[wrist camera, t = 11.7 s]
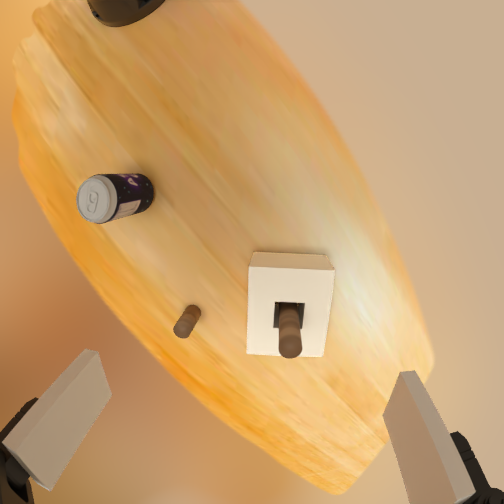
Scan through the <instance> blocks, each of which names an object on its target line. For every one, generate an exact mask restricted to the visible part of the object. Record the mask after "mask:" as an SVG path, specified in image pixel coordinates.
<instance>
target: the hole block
mask: <svg viewBox="0 0 504 504" xmlns="http://www.w3.org/2000/svg"><path fill="white" fill-rule="evenodd" d="M334 277H335V269H334V267H333V266H332V264H331V262H330V261H329V259H328V257H327V256H326V255H317V254H296V253H274V252H253V255H252V258H251V261H250V264H249V277H248V321H247V354H257V355H274V356H282V355H281V354H280V353H279V305H275V302H296V303H299V306H297V309H298V316H299V324H300V332H301V340H302V352H301V354H300V355H299V356H301V357H323V353H324V347H325V341H326V335H327V329H328V322H329V315H330V308H331V301H332V294H333V286H334Z"/></svg>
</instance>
